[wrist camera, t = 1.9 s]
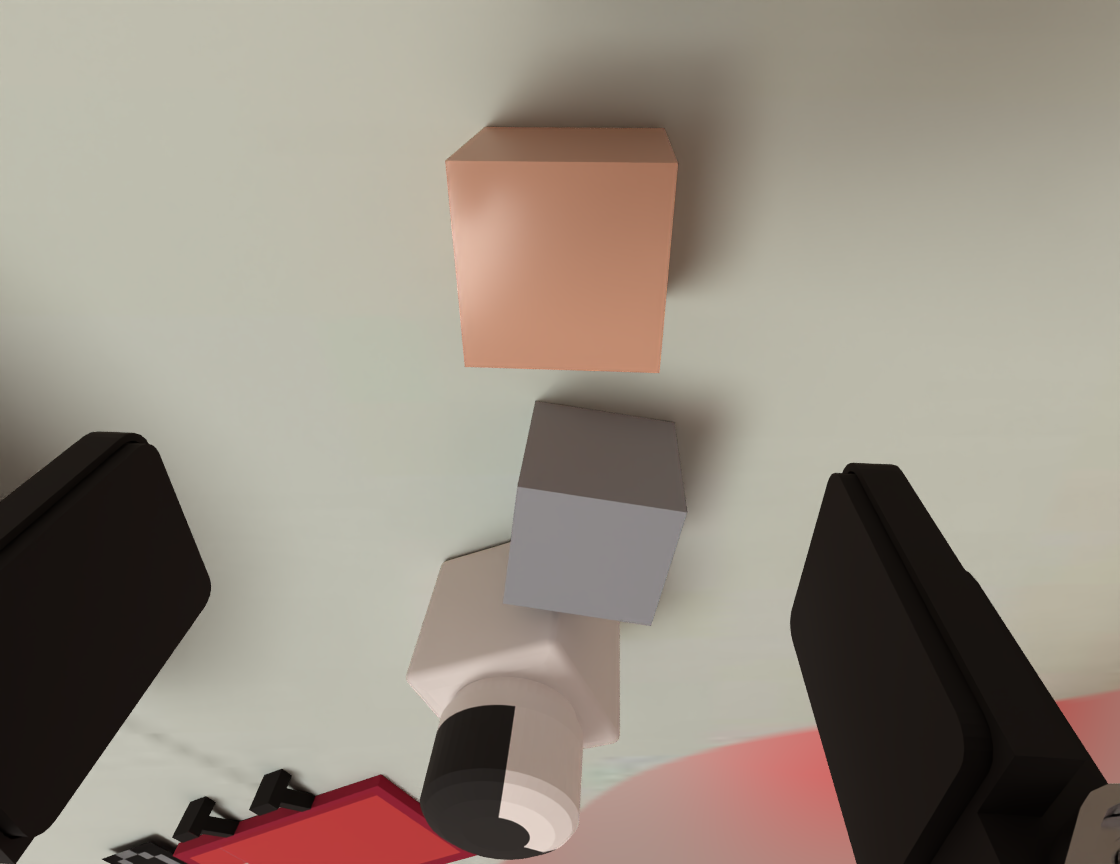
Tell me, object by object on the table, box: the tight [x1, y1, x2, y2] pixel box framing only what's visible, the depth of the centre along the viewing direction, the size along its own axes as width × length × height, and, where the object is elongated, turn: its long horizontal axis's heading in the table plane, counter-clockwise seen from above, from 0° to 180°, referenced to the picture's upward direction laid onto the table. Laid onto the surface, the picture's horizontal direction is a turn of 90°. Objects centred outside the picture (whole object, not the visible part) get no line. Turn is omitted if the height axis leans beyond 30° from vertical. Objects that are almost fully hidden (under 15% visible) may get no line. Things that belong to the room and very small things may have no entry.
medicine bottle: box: [406, 542, 620, 860], centre depth 29 cm, size 7×7×12 cm
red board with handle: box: [102, 769, 476, 864], centre depth 51 cm, size 30×3×15 cm
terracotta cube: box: [445, 127, 678, 373], centre depth 21 cm, size 6×6×6 cm
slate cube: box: [503, 401, 687, 626], centre depth 27 cm, size 6×6×6 cm
